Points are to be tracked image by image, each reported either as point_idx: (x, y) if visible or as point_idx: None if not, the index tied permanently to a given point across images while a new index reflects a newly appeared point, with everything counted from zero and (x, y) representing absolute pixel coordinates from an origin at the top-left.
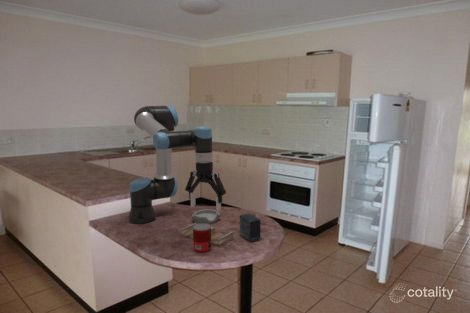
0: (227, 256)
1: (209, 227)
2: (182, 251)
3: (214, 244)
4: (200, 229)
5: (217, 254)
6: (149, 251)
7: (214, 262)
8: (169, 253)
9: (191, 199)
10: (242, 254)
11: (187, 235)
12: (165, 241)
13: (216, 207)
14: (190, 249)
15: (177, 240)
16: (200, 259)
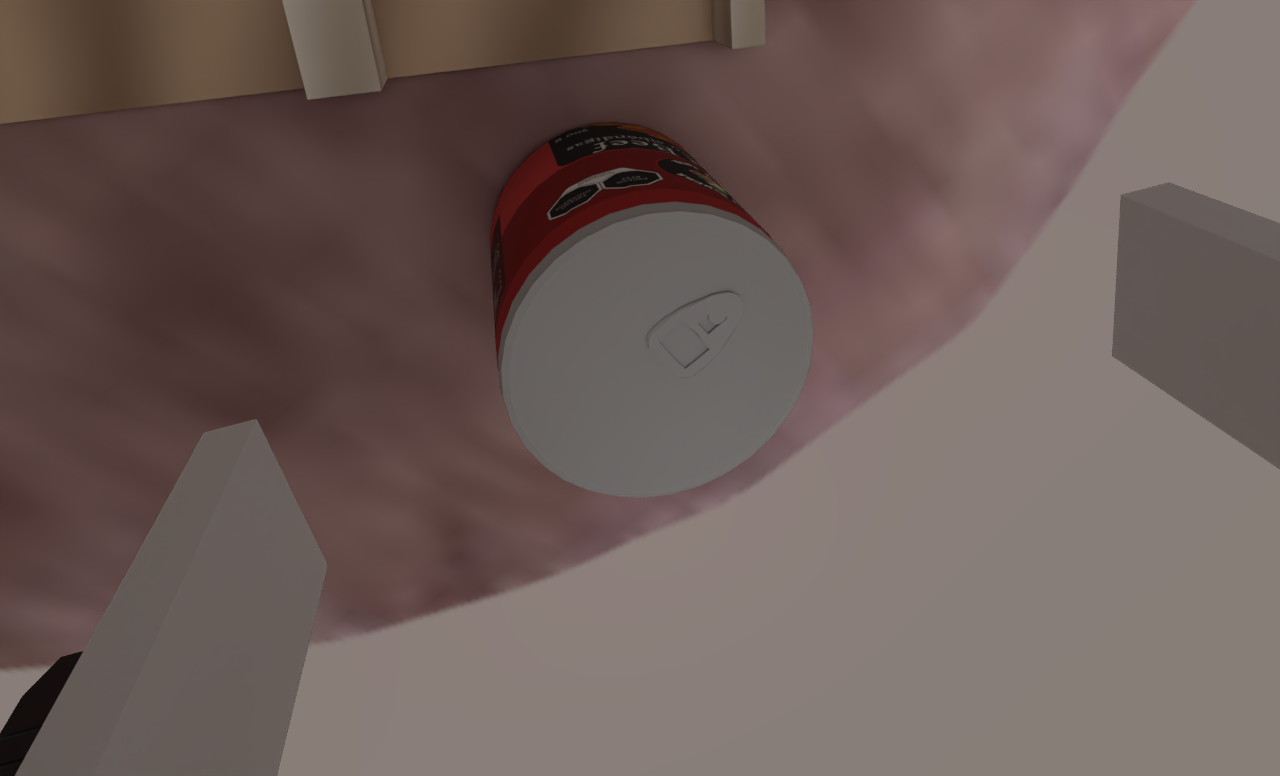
0: (968, 170)
1: (810, 318)
2: (457, 420)
3: (650, 43)
4: (740, 463)
5: (841, 209)
6: None
7: (921, 357)
8: (392, 533)
9: (262, 754)
10: (1101, 5)
11: (79, 109)
12: (8, 395)
13: (1178, 394)
14: (485, 329)
15: (88, 267)
16: None
